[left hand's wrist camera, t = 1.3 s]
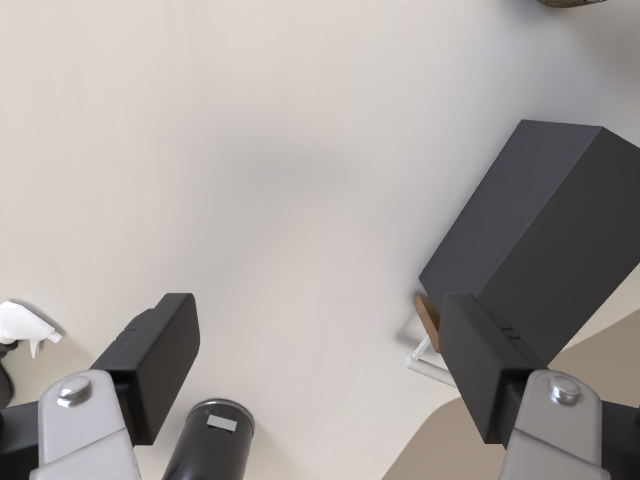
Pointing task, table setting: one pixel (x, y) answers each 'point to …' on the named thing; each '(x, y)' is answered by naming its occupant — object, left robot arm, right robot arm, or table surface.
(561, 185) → the cabinet
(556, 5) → the cup
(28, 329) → the spray bottle
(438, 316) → the drawer
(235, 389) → the table surface
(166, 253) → the table surface
